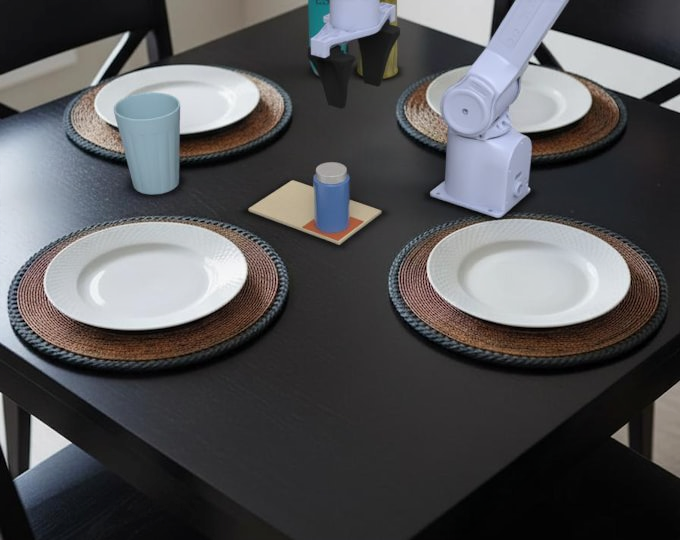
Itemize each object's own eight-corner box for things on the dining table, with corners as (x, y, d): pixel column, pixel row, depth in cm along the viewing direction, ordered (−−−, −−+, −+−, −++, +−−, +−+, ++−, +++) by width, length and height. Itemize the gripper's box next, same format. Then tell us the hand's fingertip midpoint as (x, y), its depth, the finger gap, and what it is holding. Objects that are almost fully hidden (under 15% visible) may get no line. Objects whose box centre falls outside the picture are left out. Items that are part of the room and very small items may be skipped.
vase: (357, 80, 153) (357, -16, 145) (356, 64, 158) (356, -30, 150) (399, 79, 153) (401, -17, 145) (396, 63, 158) (399, -30, 150)
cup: (110, 188, 127) (99, 109, 121) (153, 163, 132) (144, 86, 126) (157, 205, 123) (148, 125, 117) (200, 179, 128) (193, 101, 123)
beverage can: (348, 79, 153) (347, -22, 145) (309, 79, 154) (306, -22, 145) (348, 64, 158) (348, -35, 150) (310, 64, 158) (308, -35, 150)
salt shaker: (356, 221, 119) (356, 166, 115) (336, 236, 116) (335, 181, 112) (328, 211, 120) (327, 157, 117) (307, 226, 118) (305, 171, 114)
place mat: (381, 213, 121) (381, 209, 121) (339, 245, 115) (339, 241, 115) (292, 182, 127) (292, 179, 127) (248, 211, 122) (248, 207, 121)
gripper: (361, -39, 125) (361, 67, 133) (287, -6, 116) (291, 107, 123) (411, -29, 122) (408, 80, 129) (339, 7, 112) (340, 122, 120)
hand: (354, 94), depth 126 cm, fingers open, 7 cm apart
